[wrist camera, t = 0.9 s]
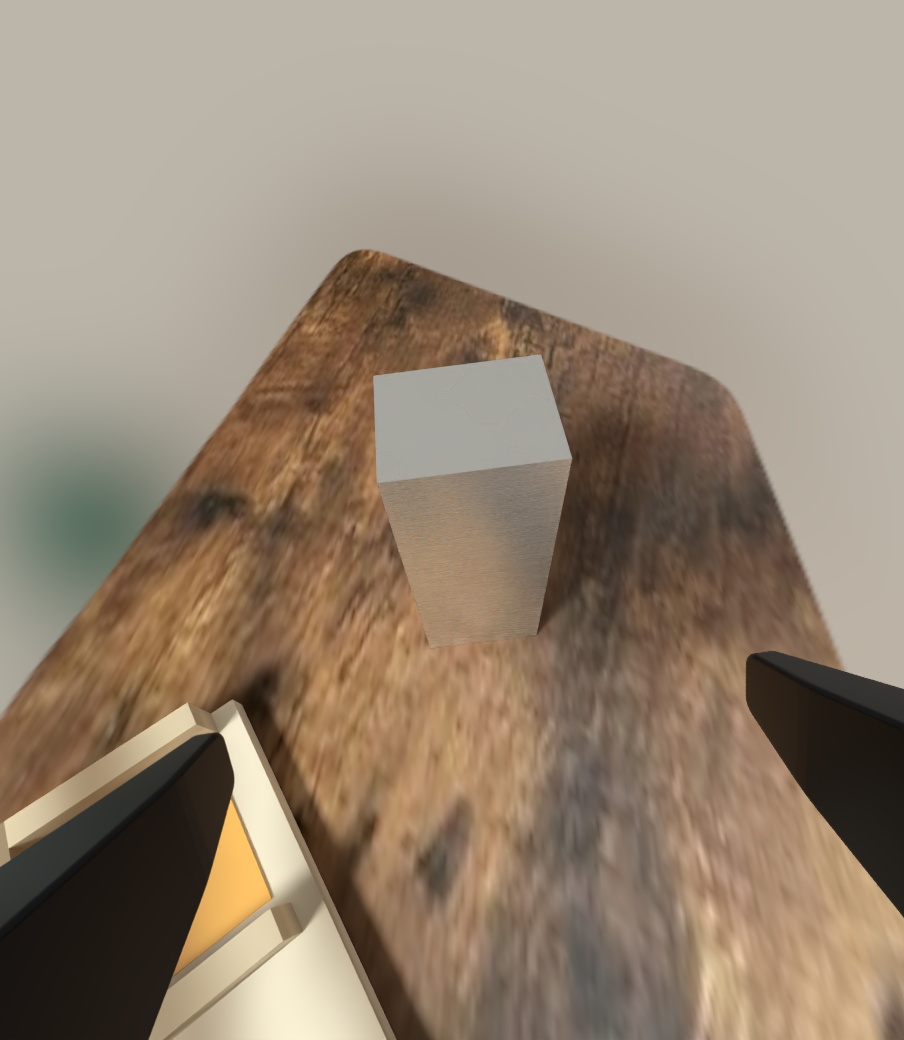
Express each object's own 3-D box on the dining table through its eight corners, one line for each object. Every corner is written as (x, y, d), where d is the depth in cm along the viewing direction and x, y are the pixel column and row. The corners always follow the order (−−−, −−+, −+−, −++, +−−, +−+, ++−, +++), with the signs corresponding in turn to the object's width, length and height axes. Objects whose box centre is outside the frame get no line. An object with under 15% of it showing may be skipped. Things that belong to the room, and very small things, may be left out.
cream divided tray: (242, 704, 23) (207, 685, 20) (463, 1185, 15) (456, 1261, 12) (35, 842, 21) (-36, 842, 18) (168, 1501, 13) (76, 1685, 10)
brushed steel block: (536, 635, 24) (572, 458, 13) (430, 648, 24) (376, 483, 13) (520, 557, 26) (539, 351, 15) (424, 570, 26) (373, 372, 15)
